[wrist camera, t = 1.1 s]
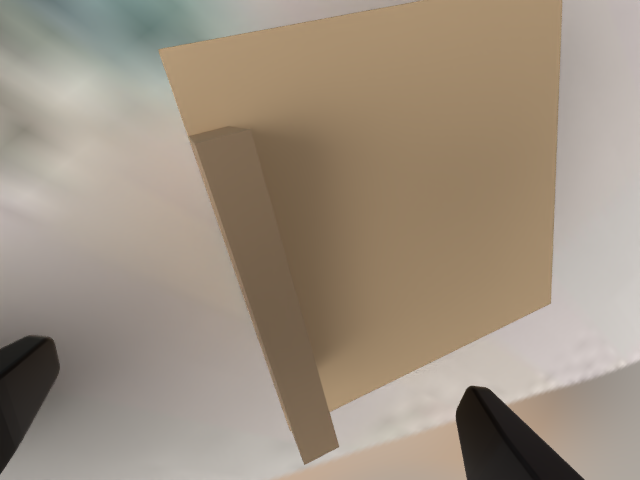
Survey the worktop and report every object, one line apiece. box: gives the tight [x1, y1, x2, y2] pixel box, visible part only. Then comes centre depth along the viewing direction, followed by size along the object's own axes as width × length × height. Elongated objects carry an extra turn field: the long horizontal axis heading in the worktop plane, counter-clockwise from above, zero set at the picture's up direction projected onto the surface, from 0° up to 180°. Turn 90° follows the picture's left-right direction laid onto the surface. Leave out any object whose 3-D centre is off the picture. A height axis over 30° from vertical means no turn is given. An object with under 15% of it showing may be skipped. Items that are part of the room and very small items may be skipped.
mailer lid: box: [158, 0, 562, 465], centre depth 13 cm, size 15×15×4 cm
